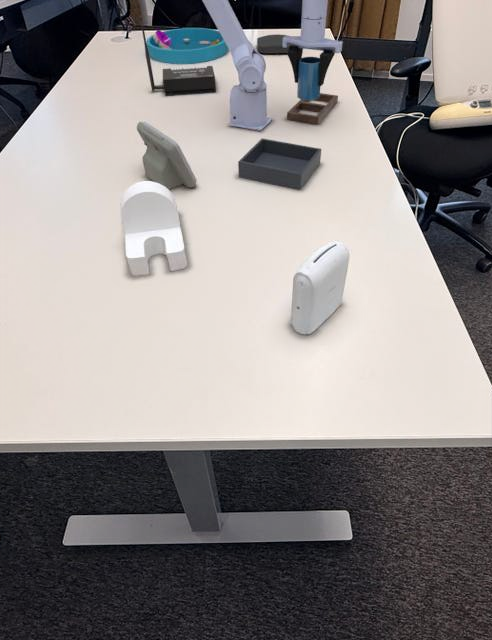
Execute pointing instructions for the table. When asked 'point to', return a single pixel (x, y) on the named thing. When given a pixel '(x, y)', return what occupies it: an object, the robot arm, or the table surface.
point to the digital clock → (164, 159)
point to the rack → (312, 109)
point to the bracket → (151, 227)
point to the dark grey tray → (280, 163)
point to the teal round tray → (186, 45)
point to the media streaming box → (271, 44)
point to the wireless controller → (183, 78)
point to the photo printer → (319, 286)
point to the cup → (308, 78)
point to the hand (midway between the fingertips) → (309, 83)
